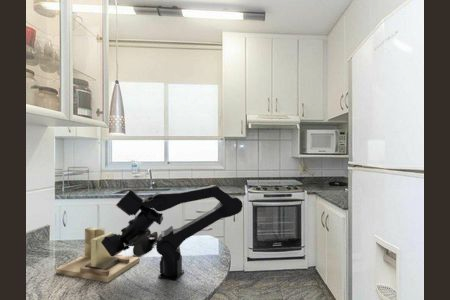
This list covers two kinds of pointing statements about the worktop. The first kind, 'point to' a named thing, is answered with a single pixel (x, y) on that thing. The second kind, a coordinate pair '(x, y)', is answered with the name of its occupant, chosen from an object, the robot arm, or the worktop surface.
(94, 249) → the tan upright block
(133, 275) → the worktop surface
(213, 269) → the worktop surface
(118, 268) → the board
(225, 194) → the robot arm
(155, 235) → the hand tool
